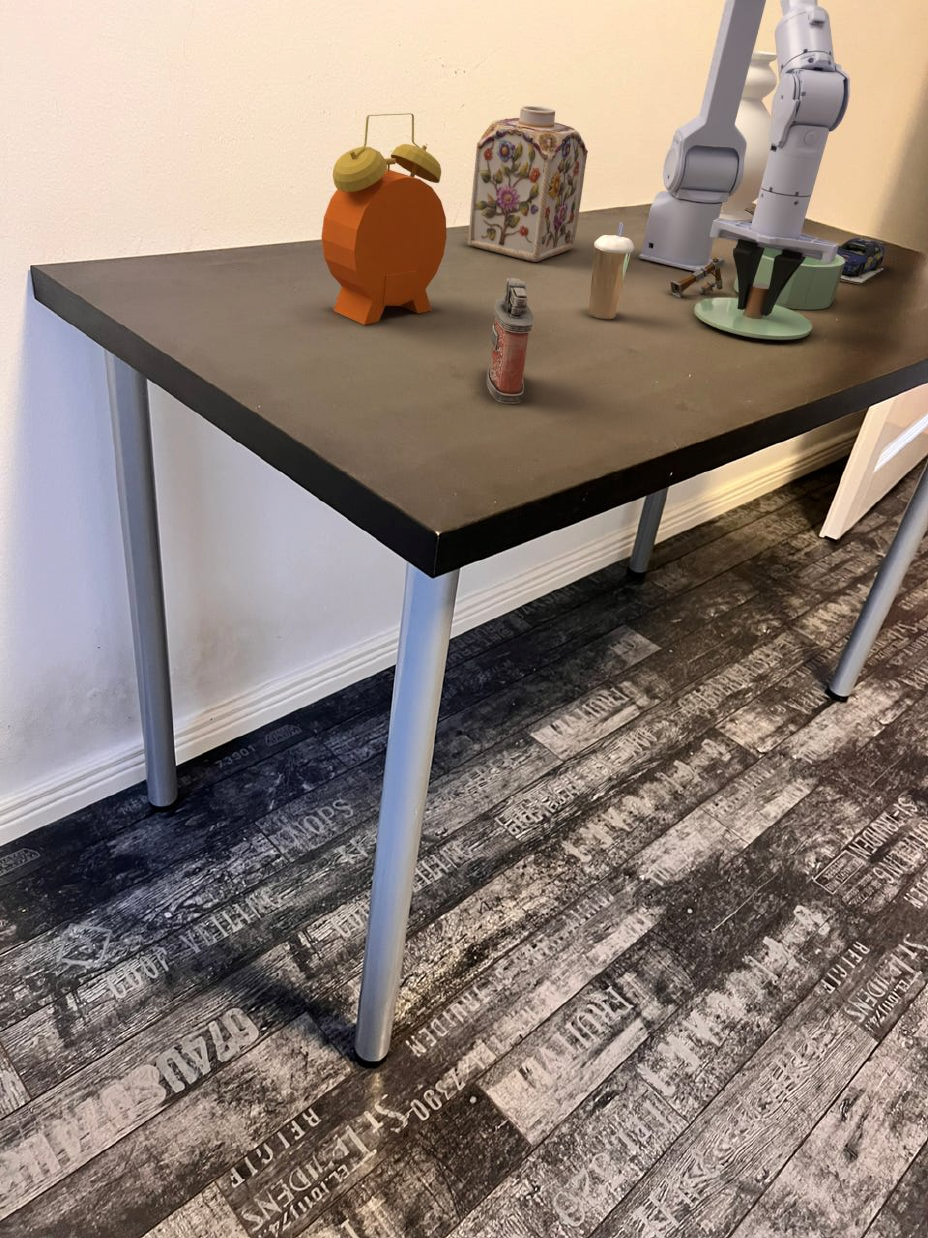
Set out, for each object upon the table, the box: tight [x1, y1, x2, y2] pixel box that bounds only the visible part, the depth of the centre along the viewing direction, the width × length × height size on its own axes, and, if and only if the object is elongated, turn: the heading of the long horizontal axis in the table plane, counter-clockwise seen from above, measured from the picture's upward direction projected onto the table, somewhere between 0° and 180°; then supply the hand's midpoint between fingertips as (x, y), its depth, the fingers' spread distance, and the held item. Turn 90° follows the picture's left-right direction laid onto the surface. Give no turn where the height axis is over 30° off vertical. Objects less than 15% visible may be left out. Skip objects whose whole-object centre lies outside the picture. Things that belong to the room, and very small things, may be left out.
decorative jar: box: [467, 105, 589, 263], centre depth 132 cm, size 12×12×18 cm
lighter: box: [486, 277, 534, 405], centre depth 90 cm, size 8×3×10 cm, turn 5°
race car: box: [836, 237, 886, 285], centre depth 142 cm, size 15×7×4 cm, turn 145°
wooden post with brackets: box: [669, 257, 726, 298], centre depth 125 cm, size 2×8×4 cm, turn 117°
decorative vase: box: [707, 49, 778, 223], centre depth 161 cm, size 18×18×25 cm
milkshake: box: [588, 222, 635, 320], centre depth 112 cm, size 4×5×10 cm
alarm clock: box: [320, 112, 448, 326], centre depth 103 cm, size 13×6×20 cm, turn 134°
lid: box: [693, 283, 813, 341], centre depth 115 cm, size 14×14×5 cm
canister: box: [733, 246, 845, 311], centre depth 128 cm, size 13×13×6 cm
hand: (754, 310), depth 116 cm, fingers closed on lid, 2 cm apart
